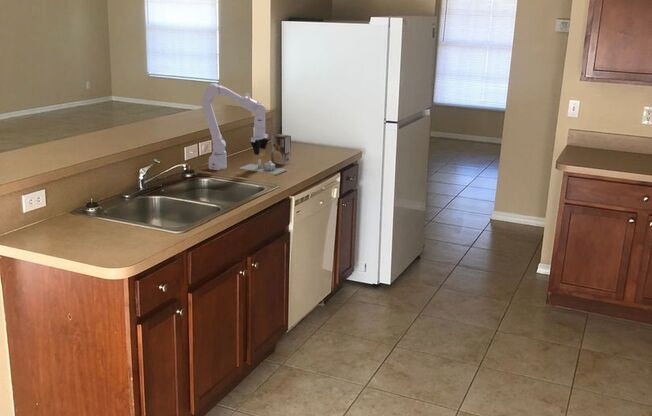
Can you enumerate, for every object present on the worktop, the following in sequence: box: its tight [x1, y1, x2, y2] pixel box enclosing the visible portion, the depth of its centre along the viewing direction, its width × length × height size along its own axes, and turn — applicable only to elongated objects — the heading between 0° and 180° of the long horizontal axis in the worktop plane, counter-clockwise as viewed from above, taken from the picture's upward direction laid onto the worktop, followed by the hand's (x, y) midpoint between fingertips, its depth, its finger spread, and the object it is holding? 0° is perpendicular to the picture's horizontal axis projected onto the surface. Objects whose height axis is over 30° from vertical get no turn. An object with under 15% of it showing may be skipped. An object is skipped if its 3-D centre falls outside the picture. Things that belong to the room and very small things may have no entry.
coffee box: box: [270, 133, 292, 166], centre depth 363 cm, size 9×6×16 cm
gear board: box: [239, 159, 288, 177], centre depth 349 cm, size 12×22×6 cm, turn 66°
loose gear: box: [253, 148, 266, 157], centre depth 348 cm, size 6×6×3 cm
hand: (259, 153), depth 348 cm, fingers closed on loose gear, 5 cm apart
